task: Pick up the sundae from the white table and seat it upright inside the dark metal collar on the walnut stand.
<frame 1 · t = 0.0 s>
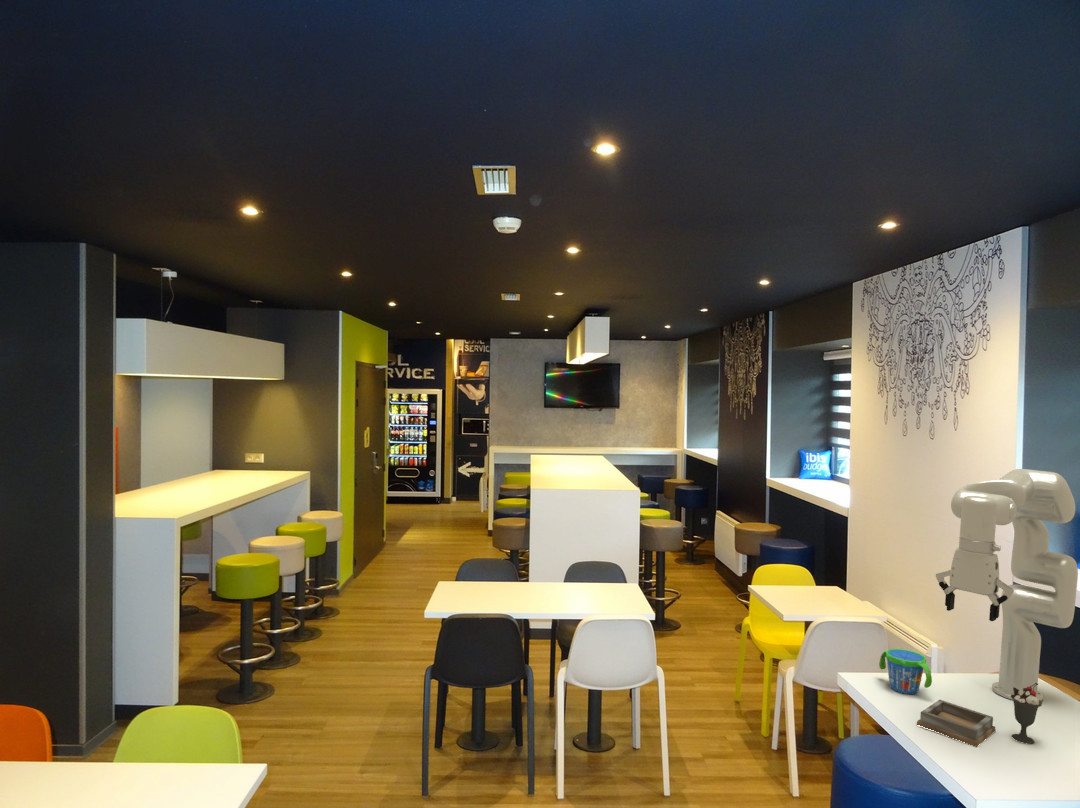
hand: (971, 614, 189), 31 cm above the table, tool pointing down, fingers open, 9 cm apart
sundae: (1023, 740, 191), on the table
stand: (955, 728, 195), on the table
snack cup: (903, 690, 219), on the table
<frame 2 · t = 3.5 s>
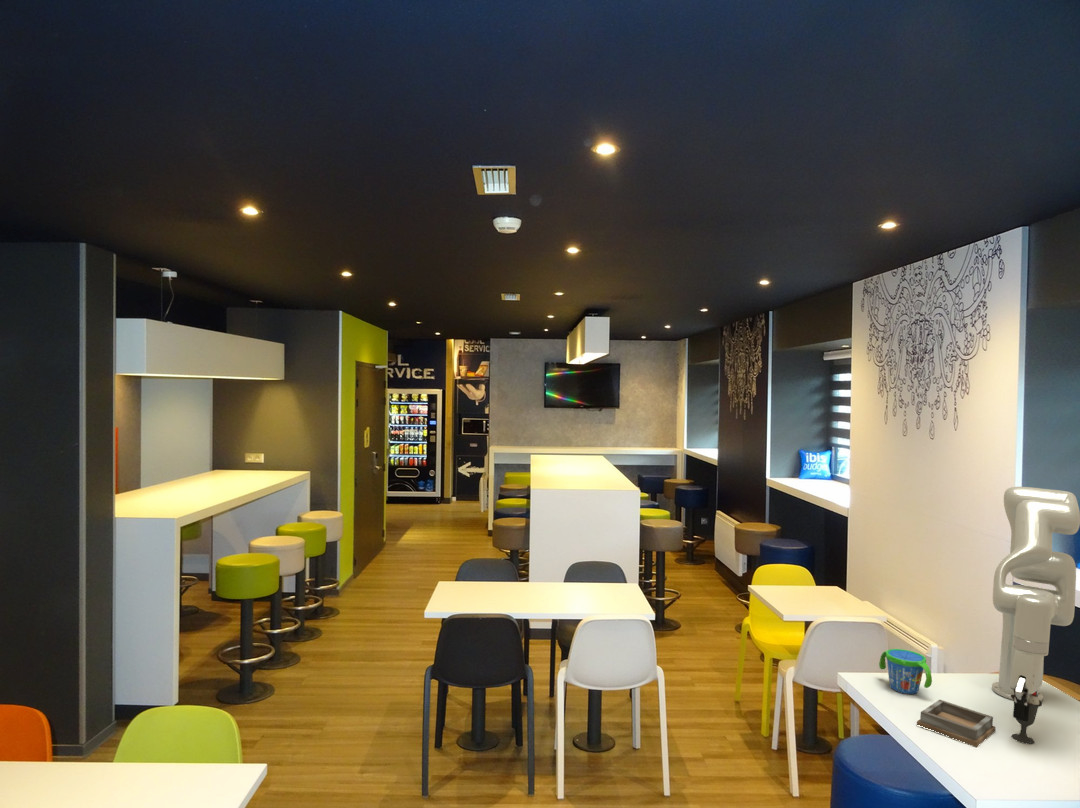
hand: (1025, 714, 191), 6 cm above the table, tool pointing down, fingers closed on sundae, 6 cm apart
sundae: (1023, 740, 191), on the table, touching gripper
everything else where it was.
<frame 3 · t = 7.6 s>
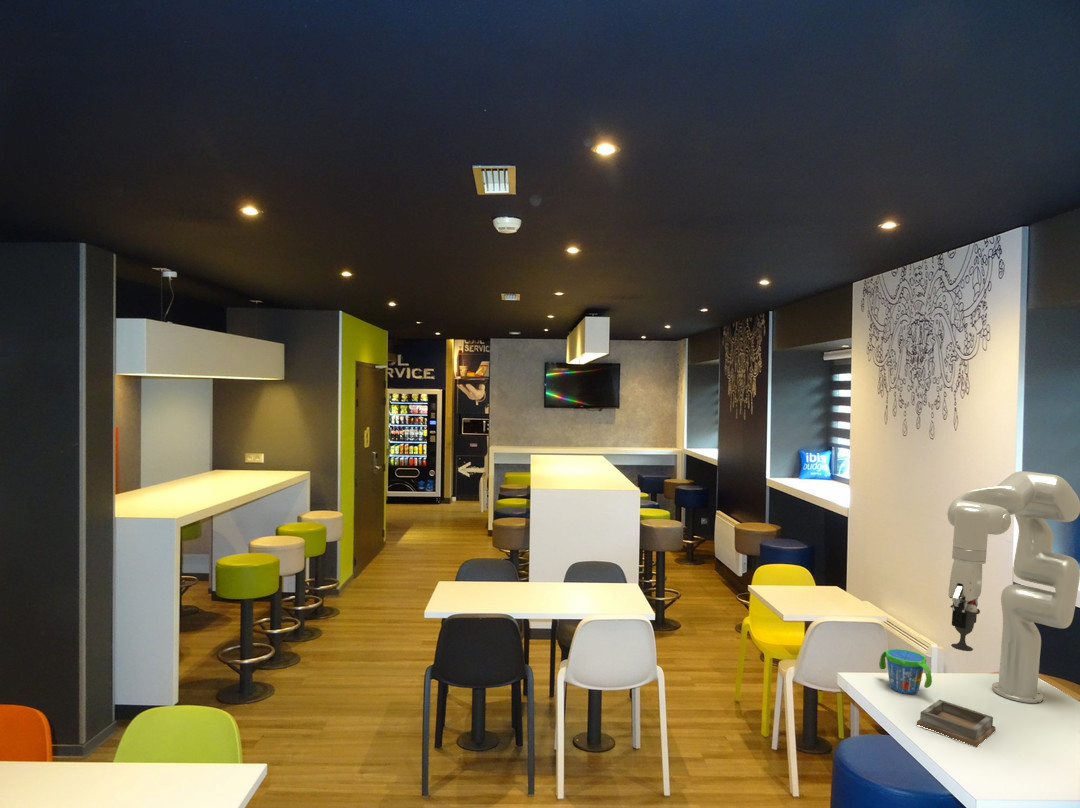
hand: (963, 623, 194), 27 cm above the table, tool pointing down, fingers closed on sundae, 6 cm apart
sundae: (962, 648, 195), point 21 cm above the table, touching gripper
everything else where it was.
when the fingers open (9 cm above the table, at t = 11.5 s): sundae drops 1 cm, resting on stand.
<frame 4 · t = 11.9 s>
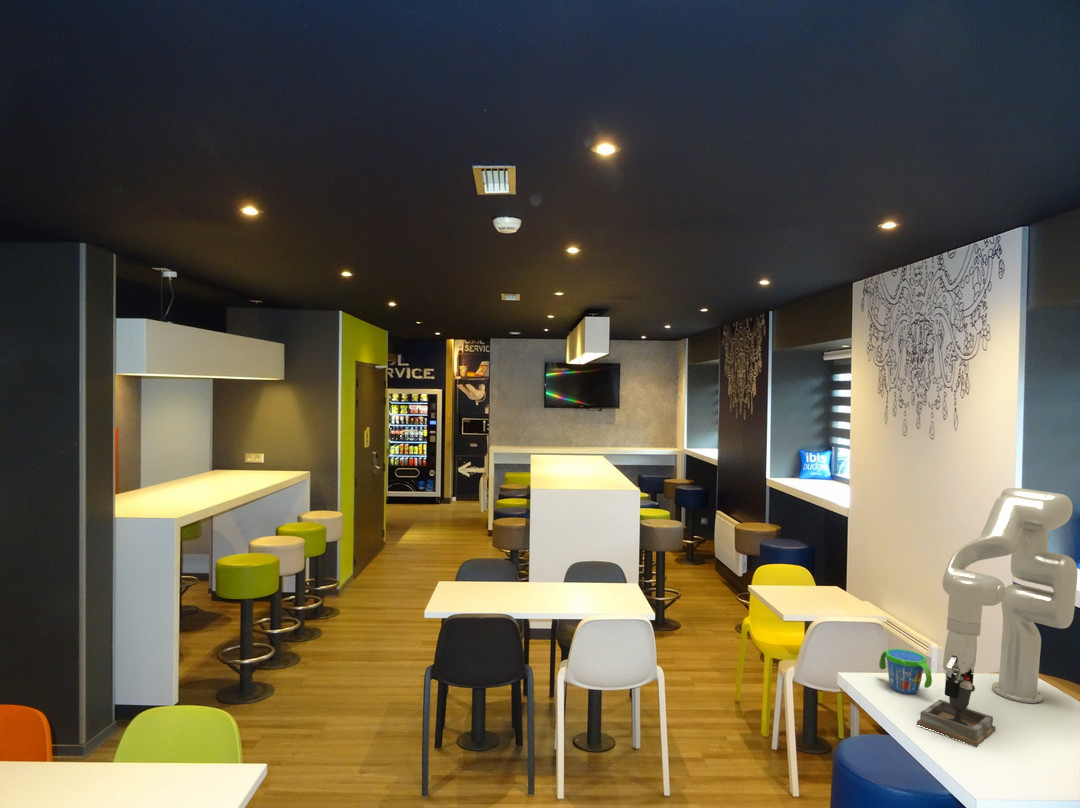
hand: (958, 692, 195), 9 cm above the table, tool pointing down, fingers open, 9 cm apart
sundae: (957, 724, 195), point 1 cm above the table, touching stand
everything else where it was.
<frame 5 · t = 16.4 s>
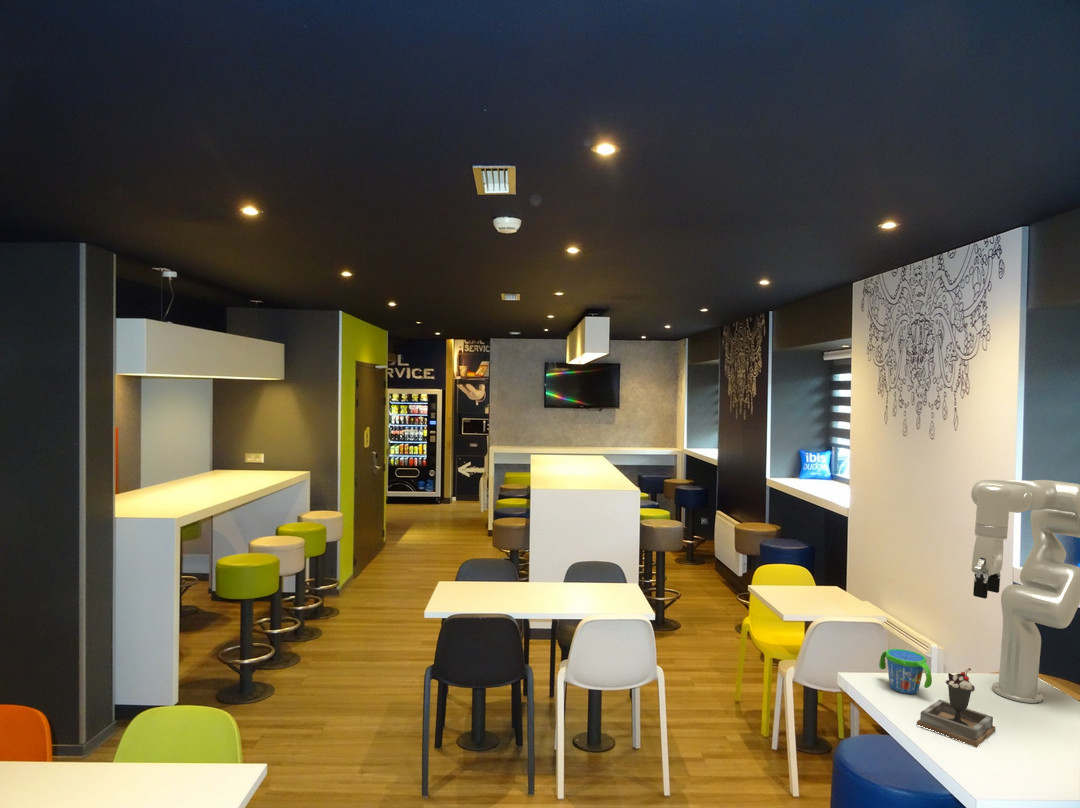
hand: (986, 594, 205), 32 cm above the table, tool pointing down, fingers open, 9 cm apart
nothing on the table moved.
at the end: sundae 0.4 cm off-centre on the stand, point 1.0 cm above the stand's base; sundae tilted 0°; the gripper is holding nothing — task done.
